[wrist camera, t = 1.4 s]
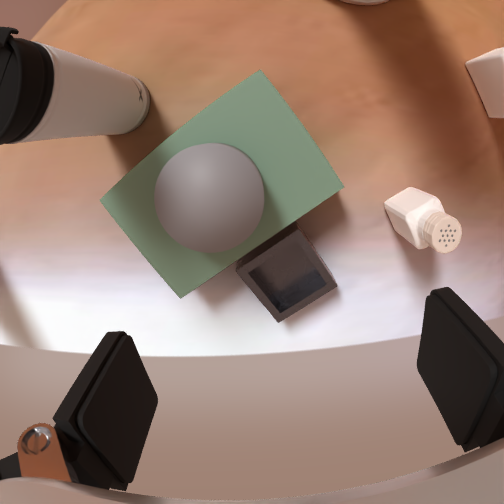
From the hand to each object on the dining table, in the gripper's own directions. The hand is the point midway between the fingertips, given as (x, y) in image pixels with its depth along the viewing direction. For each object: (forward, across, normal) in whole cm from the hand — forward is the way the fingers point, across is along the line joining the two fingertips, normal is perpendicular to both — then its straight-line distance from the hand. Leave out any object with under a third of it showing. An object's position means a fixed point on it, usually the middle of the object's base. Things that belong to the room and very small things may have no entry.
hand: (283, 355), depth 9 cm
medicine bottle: (+24, -29, -12) cm, 40 cm away
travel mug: (+24, +13, -12) cm, 30 cm away
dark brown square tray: (+24, -1, +8) cm, 25 cm away
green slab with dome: (+24, +4, -2) cm, 24 cm away
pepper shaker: (+24, -14, +3) cm, 28 cm away
